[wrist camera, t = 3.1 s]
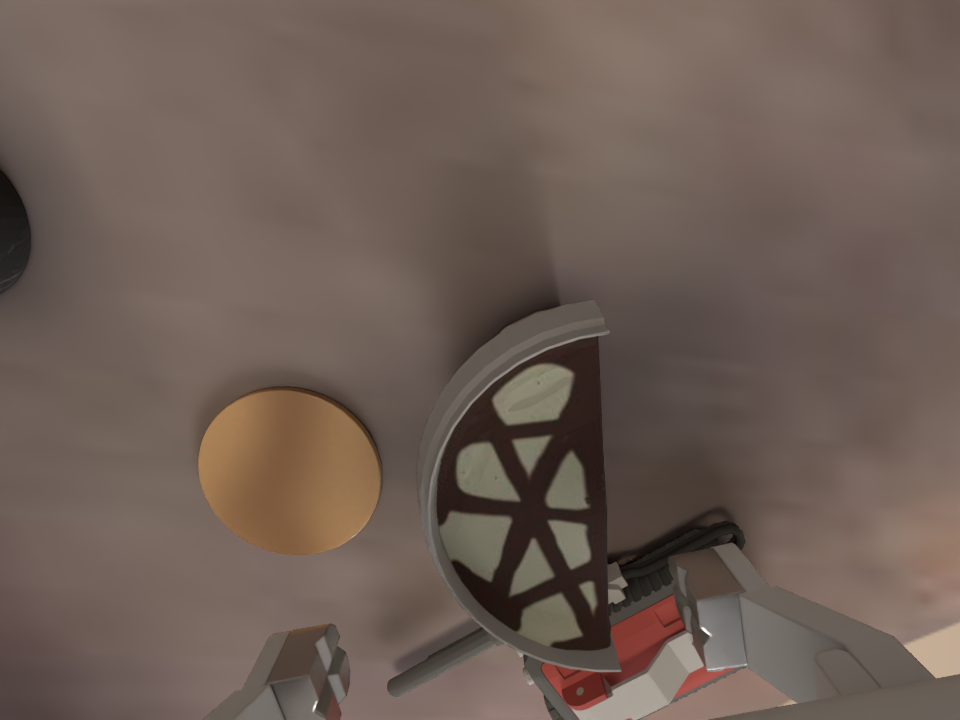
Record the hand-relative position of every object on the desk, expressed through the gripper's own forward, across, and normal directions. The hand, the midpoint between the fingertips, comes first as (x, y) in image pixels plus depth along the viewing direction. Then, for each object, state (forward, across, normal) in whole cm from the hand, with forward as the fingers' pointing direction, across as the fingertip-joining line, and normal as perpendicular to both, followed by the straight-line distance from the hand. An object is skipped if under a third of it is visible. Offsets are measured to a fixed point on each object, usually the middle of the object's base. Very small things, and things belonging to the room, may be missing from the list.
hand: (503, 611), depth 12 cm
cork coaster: (+13, +10, +1) cm, 17 cm away
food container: (+13, -1, 0) cm, 13 cm away
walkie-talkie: (+14, -2, +13) cm, 19 cm away
